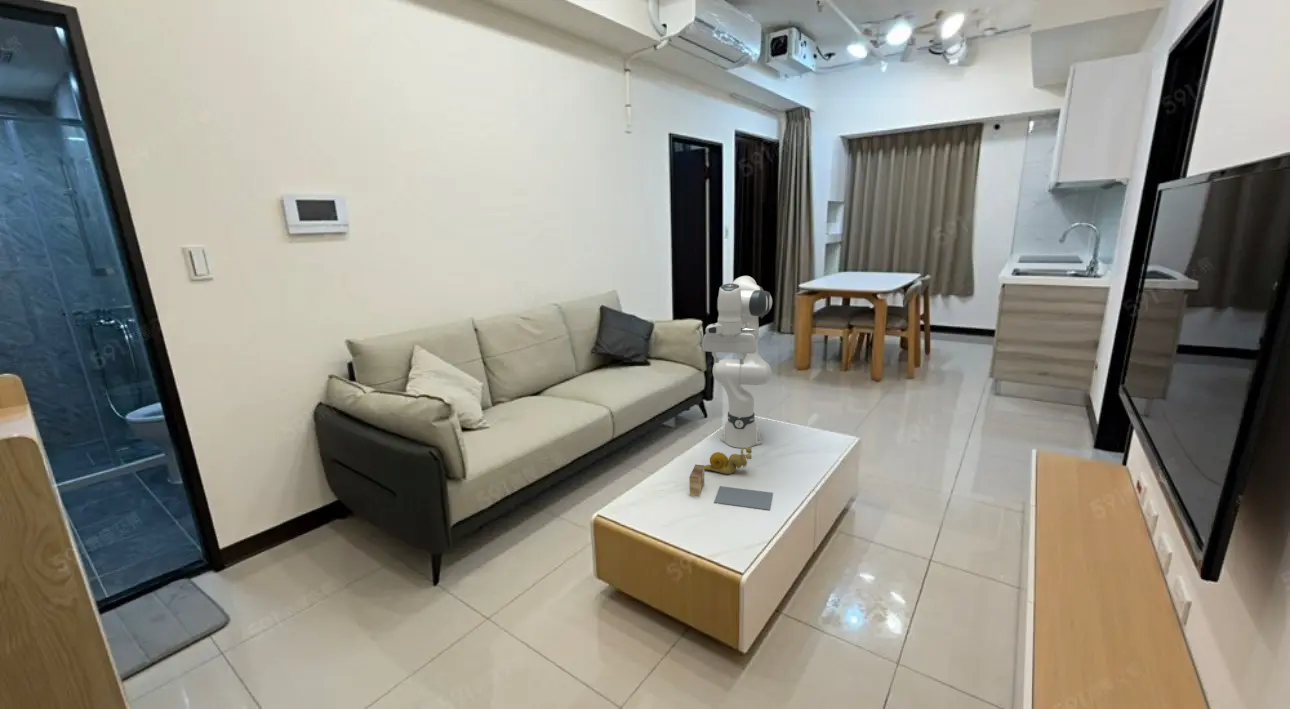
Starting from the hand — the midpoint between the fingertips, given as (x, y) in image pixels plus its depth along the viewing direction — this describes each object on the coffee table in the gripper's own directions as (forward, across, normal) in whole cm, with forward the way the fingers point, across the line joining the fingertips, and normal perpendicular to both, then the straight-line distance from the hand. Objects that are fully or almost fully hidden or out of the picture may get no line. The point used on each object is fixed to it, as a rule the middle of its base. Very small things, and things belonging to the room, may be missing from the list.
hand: (729, 363), depth 202 cm
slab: (+47, +10, +15) cm, 50 cm away
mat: (+47, -8, +17) cm, 50 cm away
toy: (+47, +2, -2) cm, 47 cm away
